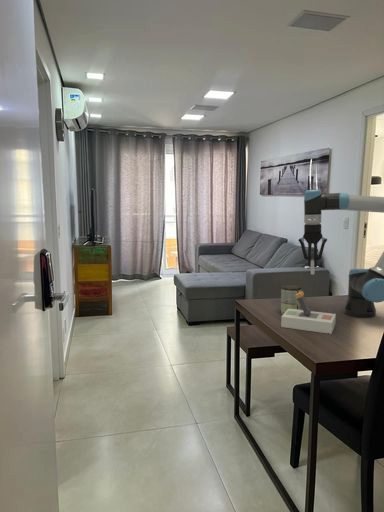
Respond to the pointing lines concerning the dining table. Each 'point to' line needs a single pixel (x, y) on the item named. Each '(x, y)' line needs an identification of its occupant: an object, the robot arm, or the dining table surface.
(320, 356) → the dining table surface
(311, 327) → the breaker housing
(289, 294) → the coffee can
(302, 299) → the breaker lever
